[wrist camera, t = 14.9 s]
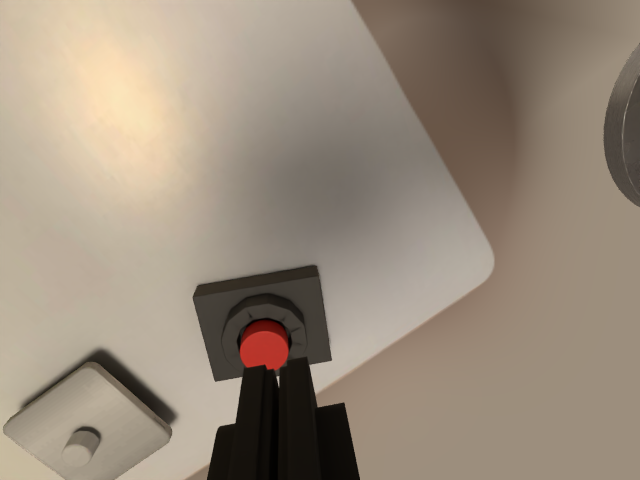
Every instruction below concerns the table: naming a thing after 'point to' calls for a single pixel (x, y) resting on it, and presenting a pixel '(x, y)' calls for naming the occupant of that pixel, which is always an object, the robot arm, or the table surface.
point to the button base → (262, 316)
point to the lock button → (264, 345)
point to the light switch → (88, 427)
